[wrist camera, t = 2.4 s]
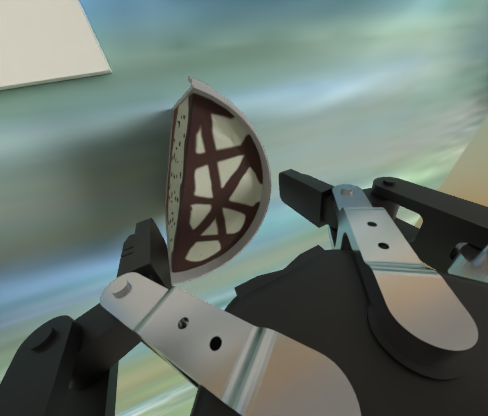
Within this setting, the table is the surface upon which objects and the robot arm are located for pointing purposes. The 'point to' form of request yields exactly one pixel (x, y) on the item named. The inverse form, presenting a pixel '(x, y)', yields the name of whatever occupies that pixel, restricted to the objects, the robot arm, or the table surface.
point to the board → (47, 43)
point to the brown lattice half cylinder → (212, 183)
